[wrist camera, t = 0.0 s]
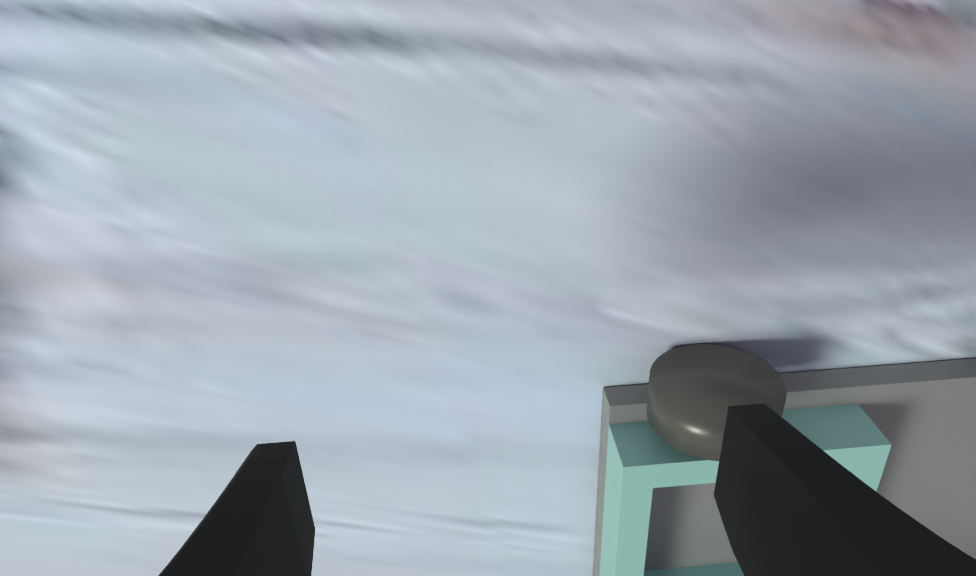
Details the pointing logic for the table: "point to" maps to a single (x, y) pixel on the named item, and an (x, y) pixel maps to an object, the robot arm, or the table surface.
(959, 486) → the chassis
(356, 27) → the table surface
